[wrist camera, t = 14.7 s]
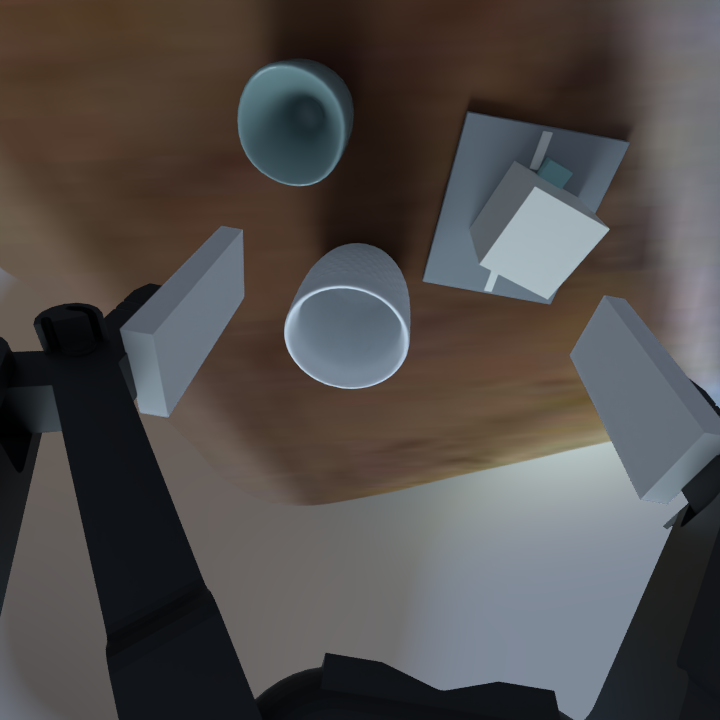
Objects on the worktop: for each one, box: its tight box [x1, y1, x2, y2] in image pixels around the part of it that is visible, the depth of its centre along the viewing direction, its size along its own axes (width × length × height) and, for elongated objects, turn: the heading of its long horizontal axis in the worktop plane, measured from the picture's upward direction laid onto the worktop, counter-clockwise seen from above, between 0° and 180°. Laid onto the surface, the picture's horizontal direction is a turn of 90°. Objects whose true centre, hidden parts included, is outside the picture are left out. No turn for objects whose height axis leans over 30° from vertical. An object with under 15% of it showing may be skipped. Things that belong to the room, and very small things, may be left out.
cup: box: [237, 58, 354, 186], centre depth 34 cm, size 8×8×10 cm
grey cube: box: [469, 157, 610, 300], centre depth 37 cm, size 7×10×8 cm
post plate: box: [423, 111, 630, 304], centre depth 39 cm, size 16×14×7 cm
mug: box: [284, 243, 411, 388], centre depth 43 cm, size 15×11×13 cm
